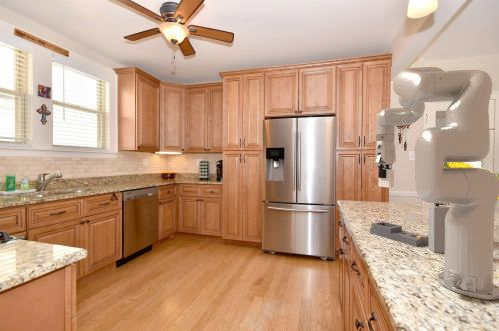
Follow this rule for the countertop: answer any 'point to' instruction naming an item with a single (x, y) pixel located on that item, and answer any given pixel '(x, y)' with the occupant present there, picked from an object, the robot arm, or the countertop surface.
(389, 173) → the charger
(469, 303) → the countertop surface
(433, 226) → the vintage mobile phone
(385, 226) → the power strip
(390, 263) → the countertop surface
